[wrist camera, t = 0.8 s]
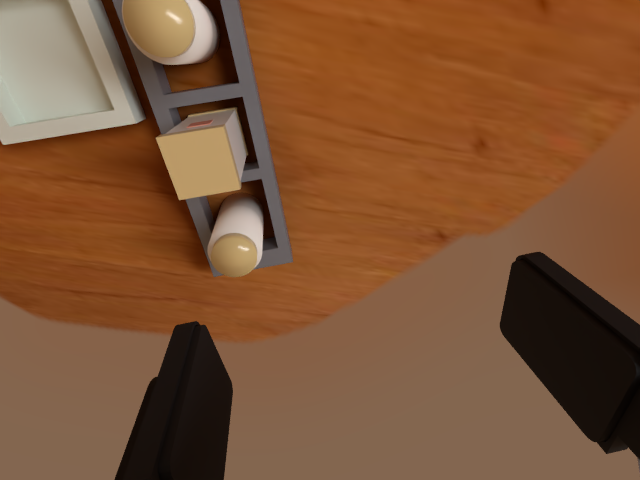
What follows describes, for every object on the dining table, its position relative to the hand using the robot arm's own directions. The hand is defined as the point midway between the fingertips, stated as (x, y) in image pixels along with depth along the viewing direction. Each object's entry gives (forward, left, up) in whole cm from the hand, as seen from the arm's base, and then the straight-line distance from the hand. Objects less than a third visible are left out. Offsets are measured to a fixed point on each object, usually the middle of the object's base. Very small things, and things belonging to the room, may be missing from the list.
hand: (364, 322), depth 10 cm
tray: (-9, -18, -25) cm, 32 cm away
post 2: (+6, -7, -25) cm, 26 cm away
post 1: (-10, -7, -25) cm, 27 cm away
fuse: (-2, -7, -25) cm, 26 cm away
